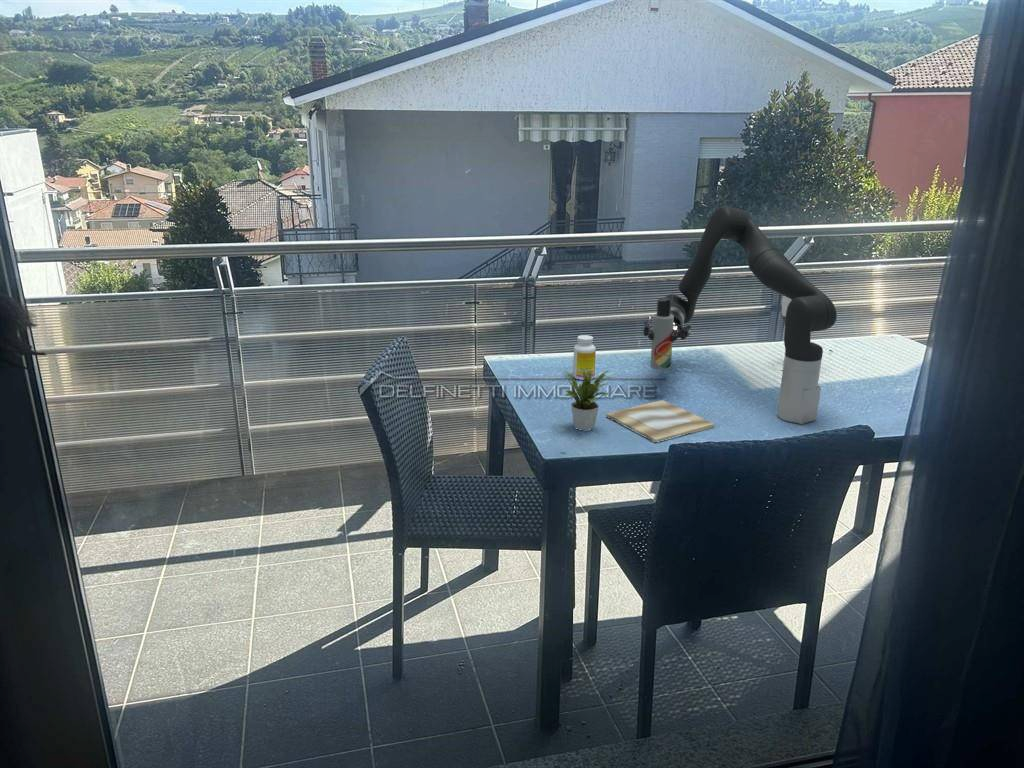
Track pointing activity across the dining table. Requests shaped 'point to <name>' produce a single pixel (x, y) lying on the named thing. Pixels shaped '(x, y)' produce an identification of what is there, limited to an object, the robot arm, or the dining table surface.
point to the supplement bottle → (584, 357)
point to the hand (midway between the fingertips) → (661, 337)
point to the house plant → (585, 400)
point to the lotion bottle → (662, 335)
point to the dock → (660, 420)
